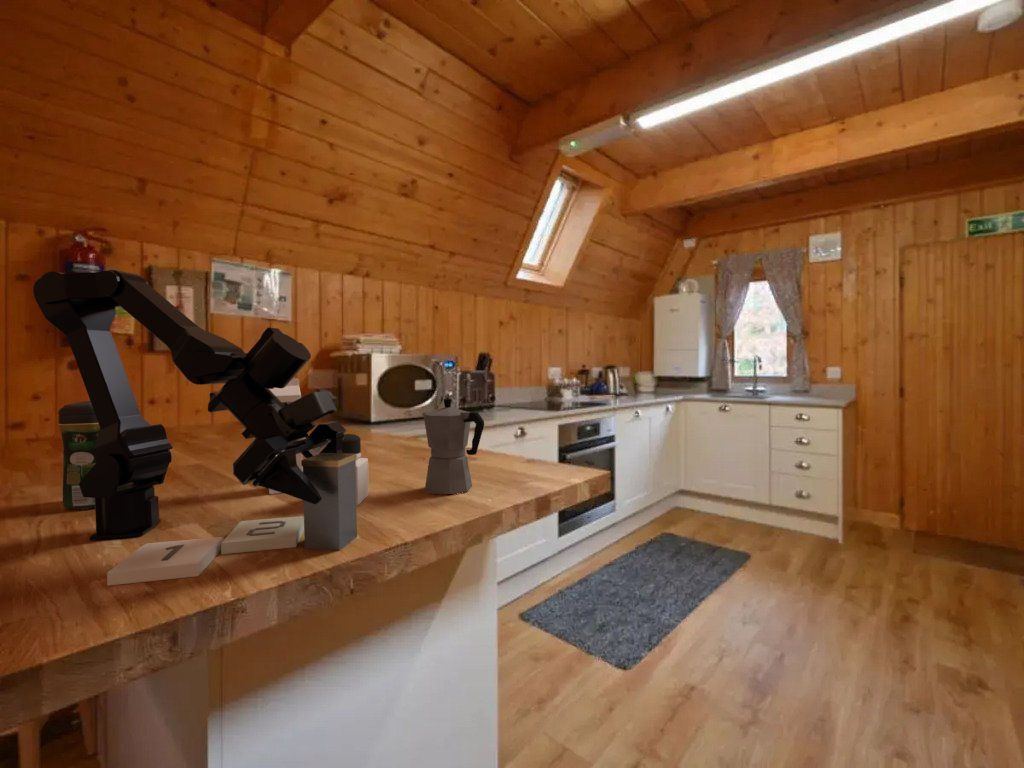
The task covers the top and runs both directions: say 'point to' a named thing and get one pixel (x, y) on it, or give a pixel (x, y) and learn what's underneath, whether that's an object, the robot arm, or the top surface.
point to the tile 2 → (264, 535)
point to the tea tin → (331, 501)
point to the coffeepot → (450, 448)
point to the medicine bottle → (357, 465)
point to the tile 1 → (165, 561)
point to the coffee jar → (77, 450)
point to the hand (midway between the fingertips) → (337, 492)
